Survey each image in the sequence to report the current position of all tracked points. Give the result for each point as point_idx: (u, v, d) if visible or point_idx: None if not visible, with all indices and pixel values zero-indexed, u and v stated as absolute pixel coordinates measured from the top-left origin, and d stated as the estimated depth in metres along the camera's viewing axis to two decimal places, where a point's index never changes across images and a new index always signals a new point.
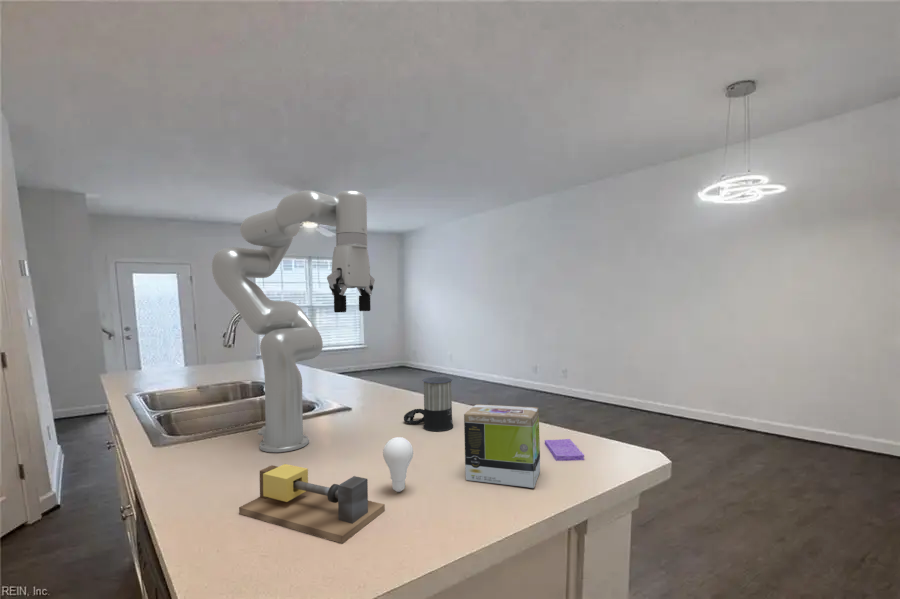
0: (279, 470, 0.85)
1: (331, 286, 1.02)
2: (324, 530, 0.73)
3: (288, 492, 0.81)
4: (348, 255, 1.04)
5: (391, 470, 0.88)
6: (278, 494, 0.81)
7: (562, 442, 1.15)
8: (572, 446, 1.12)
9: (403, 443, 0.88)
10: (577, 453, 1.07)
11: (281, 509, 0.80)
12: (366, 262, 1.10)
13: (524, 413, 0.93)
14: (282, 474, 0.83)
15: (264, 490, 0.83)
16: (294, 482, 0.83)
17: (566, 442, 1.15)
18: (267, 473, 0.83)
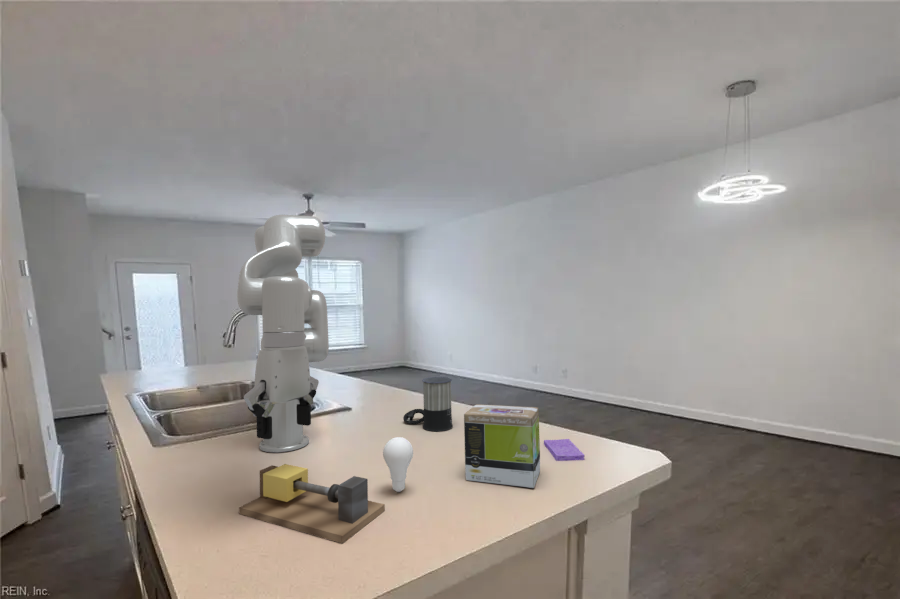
0: (279, 470, 0.85)
1: (250, 407, 0.77)
2: (324, 530, 0.73)
3: (288, 492, 0.81)
4: (275, 363, 0.79)
5: (391, 470, 0.88)
6: (278, 494, 0.81)
7: (561, 442, 1.15)
8: (572, 446, 1.12)
9: (403, 443, 0.88)
10: (577, 453, 1.07)
11: (281, 509, 0.80)
12: (304, 365, 0.85)
13: (524, 413, 0.93)
14: (282, 474, 0.83)
15: (264, 490, 0.83)
16: (294, 482, 0.83)
17: (566, 442, 1.15)
18: (267, 473, 0.83)
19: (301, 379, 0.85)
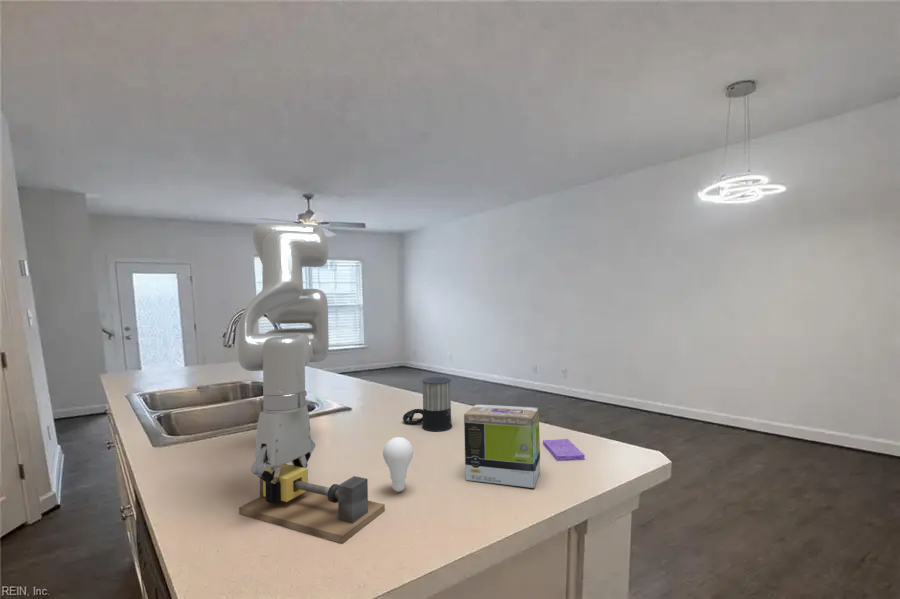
0: None
1: None
2: (324, 530, 0.73)
3: (288, 492, 0.81)
4: (276, 427, 0.80)
5: (391, 470, 0.88)
6: None
7: (560, 442, 1.15)
8: (571, 446, 1.12)
9: (403, 443, 0.88)
10: (577, 453, 1.07)
11: (281, 509, 0.80)
12: (305, 424, 0.86)
13: (524, 413, 0.93)
14: (282, 474, 0.83)
15: (264, 490, 0.83)
16: (294, 482, 0.83)
17: (565, 442, 1.15)
18: None
19: (302, 438, 0.85)
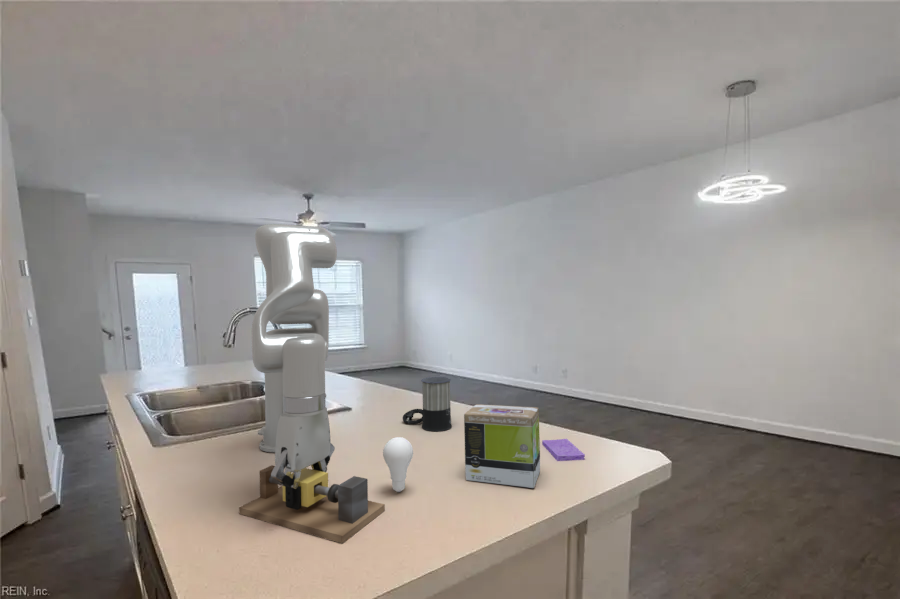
0: None
1: None
2: (324, 530, 0.73)
3: (309, 497, 0.79)
4: (296, 430, 0.78)
5: (391, 470, 0.88)
6: None
7: (560, 442, 1.15)
8: (571, 446, 1.12)
9: (403, 443, 0.88)
10: (577, 453, 1.07)
11: (281, 509, 0.80)
12: (325, 427, 0.84)
13: (524, 413, 0.93)
14: (303, 478, 0.80)
15: (284, 495, 0.81)
16: None
17: (564, 442, 1.15)
18: None
19: (322, 442, 0.83)
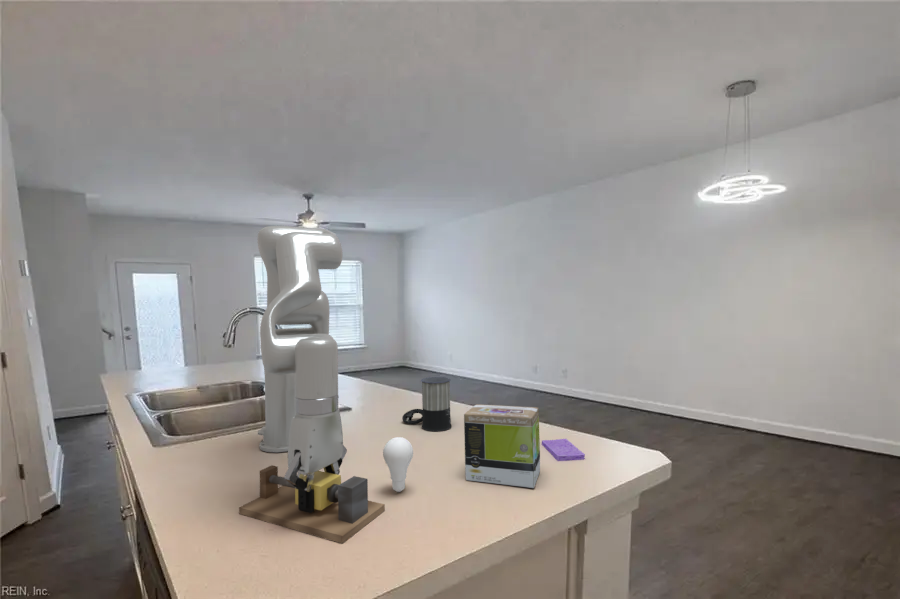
0: None
1: None
2: (324, 530, 0.73)
3: (322, 500, 0.77)
4: (310, 432, 0.76)
5: (391, 470, 0.88)
6: None
7: (559, 442, 1.15)
8: (570, 446, 1.12)
9: (403, 443, 0.88)
10: (577, 453, 1.07)
11: (281, 509, 0.80)
12: (337, 428, 0.82)
13: (524, 413, 0.93)
14: (316, 481, 0.79)
15: (296, 498, 0.79)
16: None
17: (564, 442, 1.15)
18: None
19: (335, 444, 0.81)
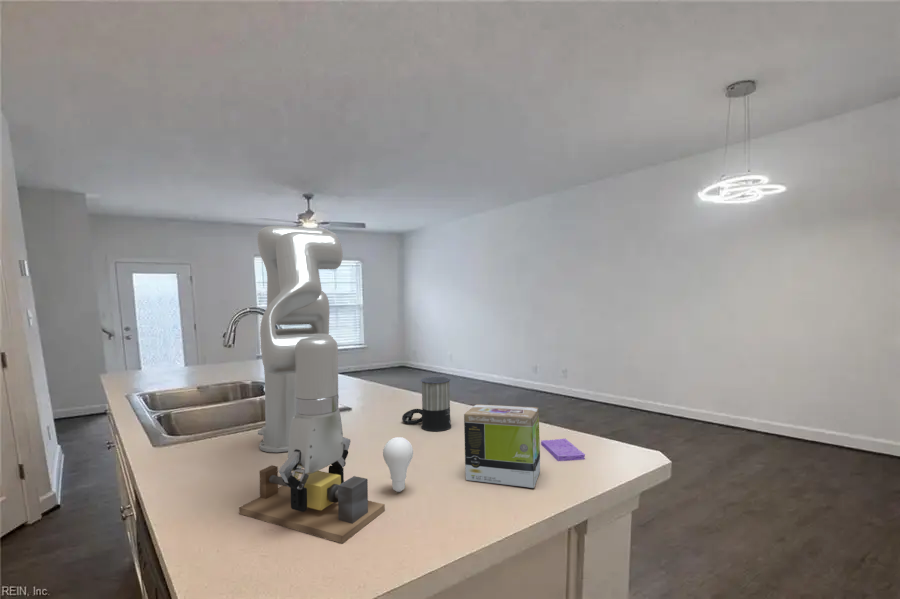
0: (311, 477, 0.81)
1: (285, 481, 0.74)
2: (324, 530, 0.73)
3: (322, 500, 0.77)
4: (310, 432, 0.76)
5: (391, 470, 0.88)
6: (312, 502, 0.78)
7: (559, 442, 1.15)
8: (570, 446, 1.12)
9: (403, 443, 0.88)
10: (577, 453, 1.07)
11: (281, 509, 0.80)
12: (337, 428, 0.82)
13: (524, 413, 0.93)
14: (316, 481, 0.79)
15: None
16: None
17: (563, 442, 1.16)
18: None
19: (335, 444, 0.81)
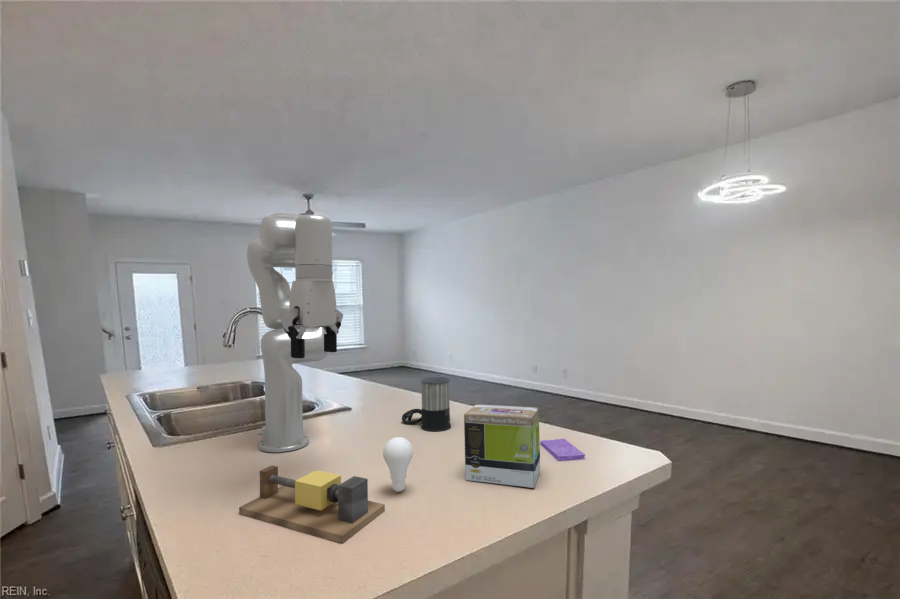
0: (311, 477, 0.81)
1: (286, 329, 0.87)
2: (324, 530, 0.73)
3: (322, 500, 0.77)
4: (307, 291, 0.89)
5: (391, 470, 0.88)
6: (312, 502, 0.78)
7: (558, 442, 1.15)
8: (570, 446, 1.12)
9: (403, 443, 0.88)
10: (578, 453, 1.07)
11: (281, 509, 0.80)
12: (331, 297, 0.95)
13: (524, 413, 0.93)
14: (316, 481, 0.79)
15: (296, 498, 0.79)
16: (294, 482, 0.83)
17: (563, 442, 1.16)
18: (299, 480, 0.80)
19: (329, 309, 0.94)
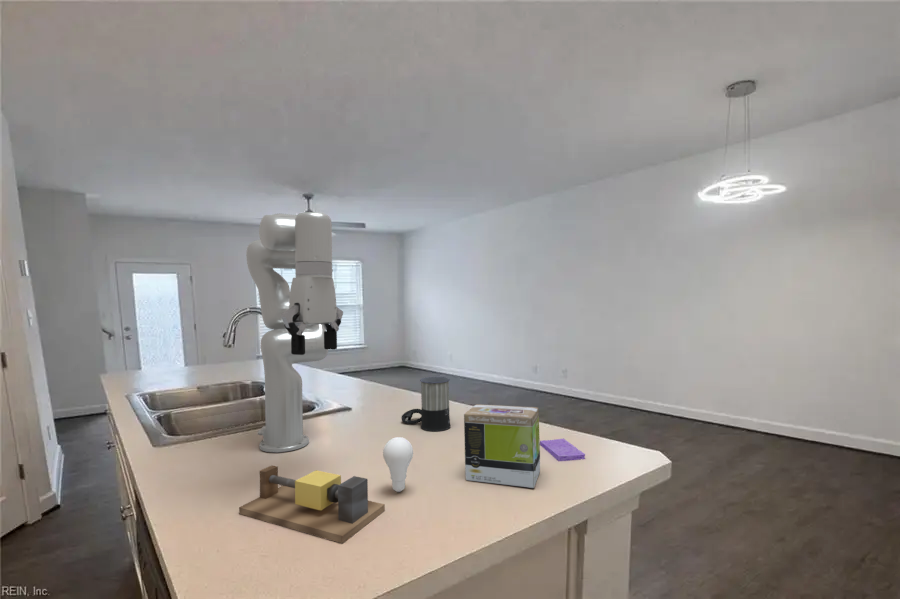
0: (311, 477, 0.81)
1: (286, 325, 0.87)
2: (324, 530, 0.73)
3: (322, 500, 0.77)
4: (307, 288, 0.89)
5: (391, 470, 0.88)
6: (312, 502, 0.78)
7: (558, 442, 1.15)
8: (569, 446, 1.13)
9: (403, 443, 0.88)
10: (578, 453, 1.07)
11: (281, 509, 0.80)
12: (331, 294, 0.95)
13: (524, 413, 0.93)
14: (316, 481, 0.79)
15: (296, 498, 0.79)
16: (294, 482, 0.83)
17: (562, 442, 1.16)
18: (299, 480, 0.80)
19: (329, 306, 0.95)
